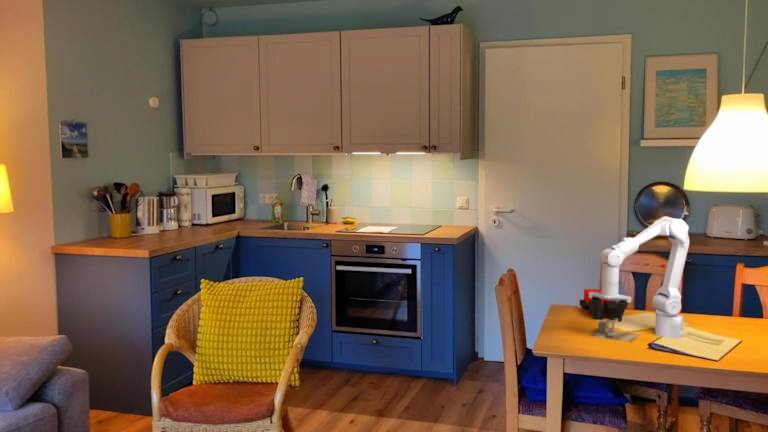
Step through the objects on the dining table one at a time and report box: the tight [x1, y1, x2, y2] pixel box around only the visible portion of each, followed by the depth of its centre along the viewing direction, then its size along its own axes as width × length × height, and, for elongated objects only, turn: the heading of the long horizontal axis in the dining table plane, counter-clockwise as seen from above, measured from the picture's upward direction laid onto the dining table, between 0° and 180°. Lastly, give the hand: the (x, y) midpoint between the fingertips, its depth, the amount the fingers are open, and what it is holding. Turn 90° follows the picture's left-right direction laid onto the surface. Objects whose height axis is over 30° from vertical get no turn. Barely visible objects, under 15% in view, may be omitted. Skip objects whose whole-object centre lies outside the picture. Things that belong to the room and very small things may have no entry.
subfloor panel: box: [589, 329, 641, 343], centre depth 259 cm, size 15×12×1 cm
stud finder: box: [597, 318, 615, 334], centre depth 262 cm, size 4×6×4 cm, turn 145°
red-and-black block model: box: [579, 288, 619, 319], centre depth 292 cm, size 15×8×25 cm
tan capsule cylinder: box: [604, 319, 613, 339], centre depth 255 cm, size 3×3×6 cm
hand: (609, 319), depth 255 cm, fingers open, 7 cm apart
